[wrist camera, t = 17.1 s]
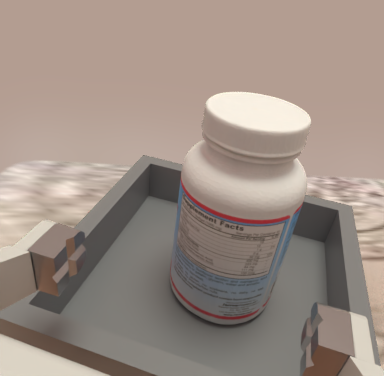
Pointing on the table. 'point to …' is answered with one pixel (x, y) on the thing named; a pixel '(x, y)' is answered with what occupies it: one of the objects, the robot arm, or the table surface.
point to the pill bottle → (238, 205)
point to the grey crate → (168, 302)
